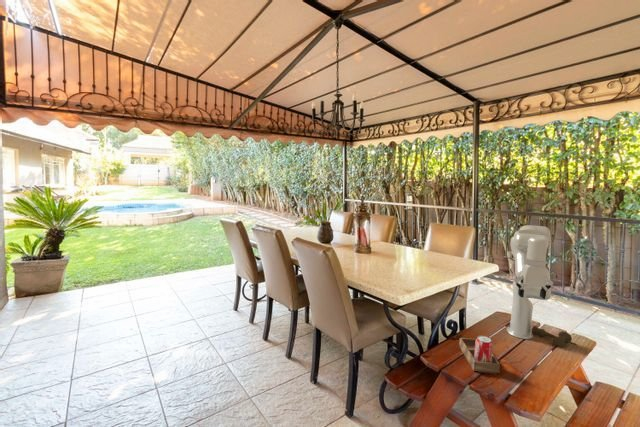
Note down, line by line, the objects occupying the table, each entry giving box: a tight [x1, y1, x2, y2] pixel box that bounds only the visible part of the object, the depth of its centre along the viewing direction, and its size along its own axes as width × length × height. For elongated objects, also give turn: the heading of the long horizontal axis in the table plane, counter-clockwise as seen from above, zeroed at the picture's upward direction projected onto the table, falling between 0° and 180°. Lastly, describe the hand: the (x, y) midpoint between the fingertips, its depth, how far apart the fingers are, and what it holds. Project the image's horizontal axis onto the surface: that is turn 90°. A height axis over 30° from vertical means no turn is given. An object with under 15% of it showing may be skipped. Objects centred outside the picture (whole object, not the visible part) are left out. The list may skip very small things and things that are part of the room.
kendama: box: [531, 325, 578, 349], centre depth 166 cm, size 6×10×20 cm
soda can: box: [474, 335, 493, 363], centre depth 143 cm, size 7×7×12 cm
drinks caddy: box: [458, 337, 501, 374], centre depth 149 cm, size 21×11×4 cm, turn 173°
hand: (531, 297), depth 149 cm, fingers open, 9 cm apart
